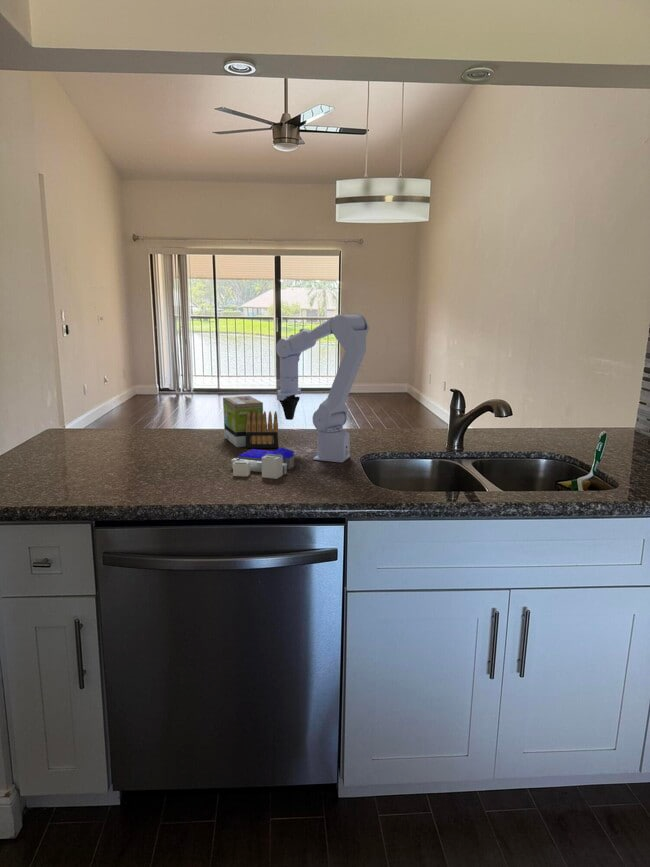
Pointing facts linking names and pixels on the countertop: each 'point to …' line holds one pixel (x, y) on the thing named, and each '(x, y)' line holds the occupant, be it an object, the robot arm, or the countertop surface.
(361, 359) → the robot arm
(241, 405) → the tea box
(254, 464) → the rail
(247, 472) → the block
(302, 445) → the countertop surface
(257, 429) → the ammunition clip
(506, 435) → the countertop surface
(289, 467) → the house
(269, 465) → the block
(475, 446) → the countertop surface
